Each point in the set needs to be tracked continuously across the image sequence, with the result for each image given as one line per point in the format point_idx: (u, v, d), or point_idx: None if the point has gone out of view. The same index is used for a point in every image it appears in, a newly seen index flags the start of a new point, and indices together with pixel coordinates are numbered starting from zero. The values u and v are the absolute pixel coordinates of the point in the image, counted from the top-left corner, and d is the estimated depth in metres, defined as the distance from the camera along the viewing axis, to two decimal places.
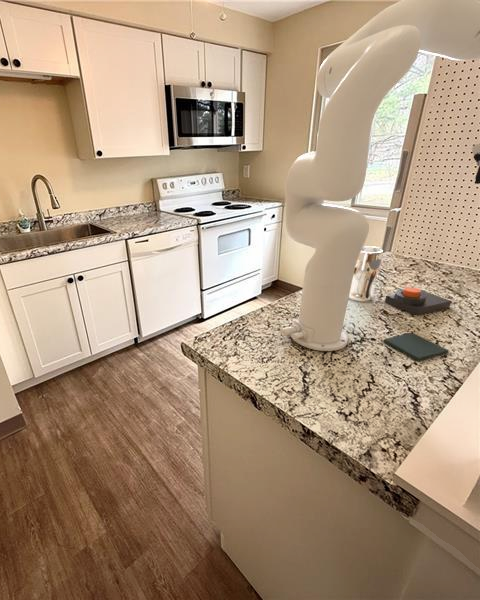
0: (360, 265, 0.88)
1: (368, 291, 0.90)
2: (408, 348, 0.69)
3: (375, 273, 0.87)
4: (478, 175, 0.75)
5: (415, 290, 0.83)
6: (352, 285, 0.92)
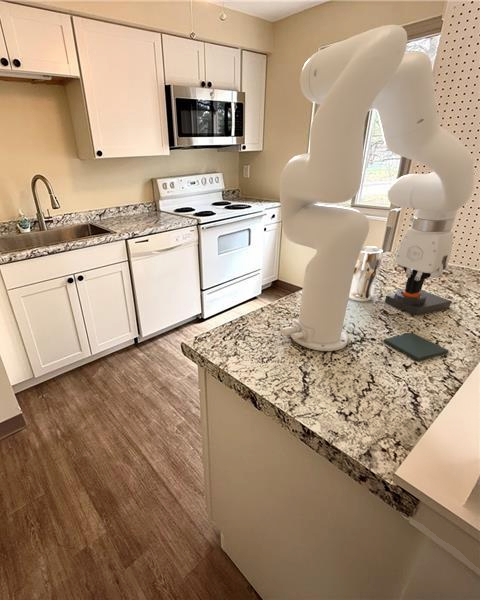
0: (360, 265, 0.88)
1: (368, 291, 0.90)
2: (408, 348, 0.69)
3: (375, 273, 0.87)
4: (407, 285, 0.84)
5: (415, 293, 0.83)
6: (352, 285, 0.92)
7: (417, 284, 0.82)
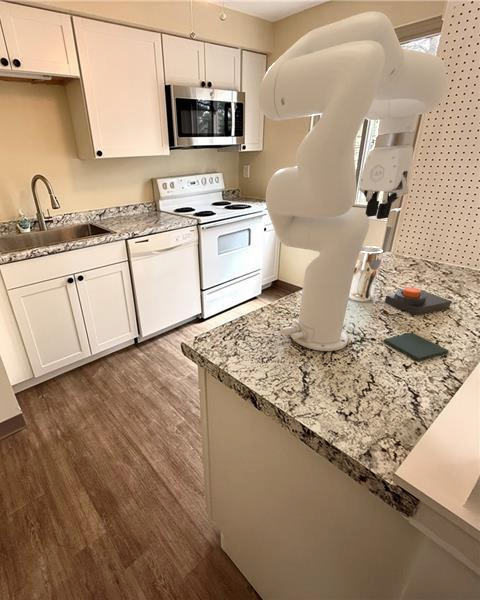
0: (360, 265, 0.88)
1: (368, 291, 0.90)
2: (408, 348, 0.69)
3: (375, 273, 0.87)
4: (367, 209, 0.84)
5: (415, 290, 0.83)
6: (352, 285, 0.92)
7: (385, 208, 0.80)
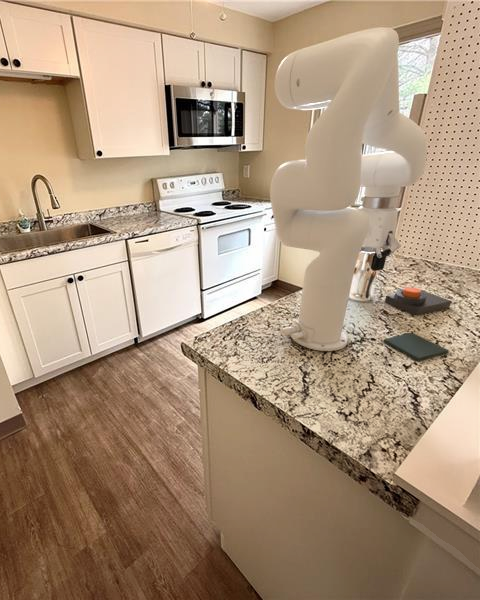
0: (360, 265, 0.88)
1: (368, 291, 0.90)
2: (408, 348, 0.69)
3: (375, 273, 0.87)
4: None
5: (415, 290, 0.83)
6: (352, 285, 0.92)
7: (379, 261, 0.84)
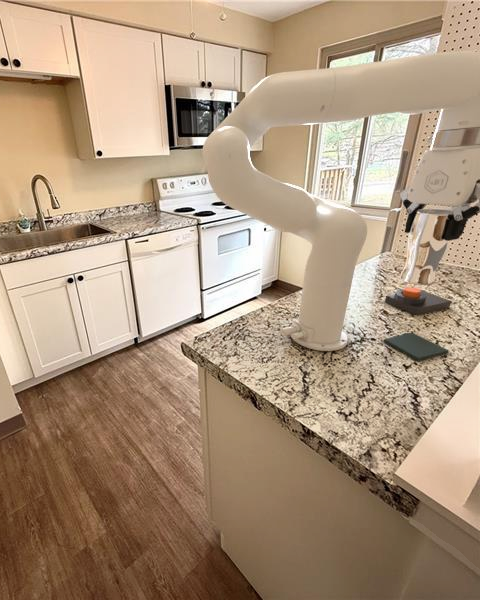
0: (426, 234, 0.62)
1: (434, 270, 0.65)
2: (408, 348, 0.69)
3: (447, 244, 0.62)
4: (407, 224, 0.67)
5: (415, 290, 0.83)
6: (410, 263, 0.67)
7: (458, 226, 0.59)
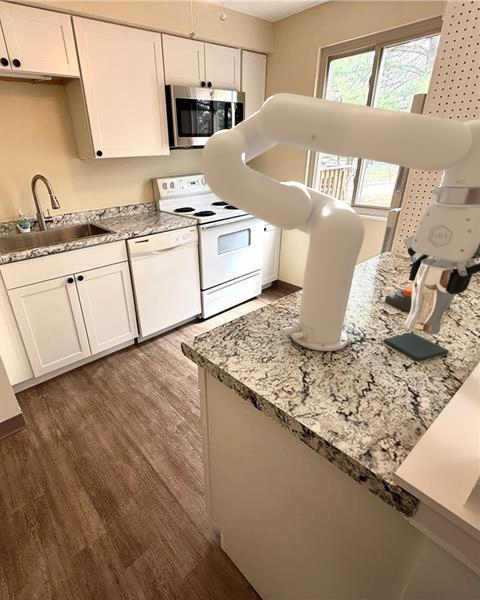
0: (430, 286, 0.61)
1: (439, 320, 0.64)
2: (408, 348, 0.69)
3: (452, 297, 0.61)
4: (412, 272, 0.66)
5: None
6: (414, 312, 0.66)
7: (462, 281, 0.58)
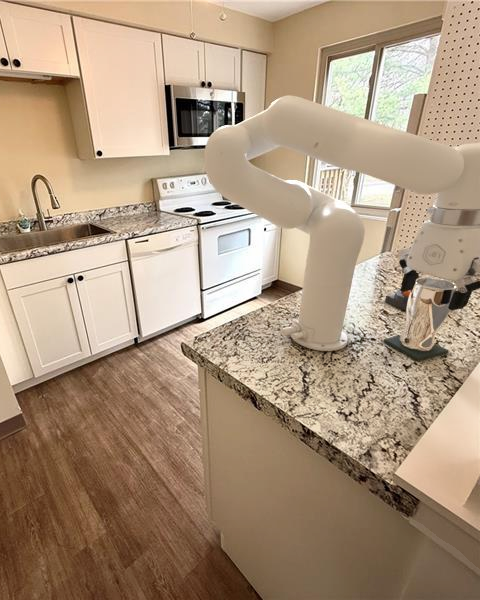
0: (423, 305, 0.63)
1: (432, 338, 0.66)
2: None
3: (444, 316, 0.63)
4: (403, 283, 0.68)
5: None
6: (408, 329, 0.68)
7: (462, 297, 0.58)
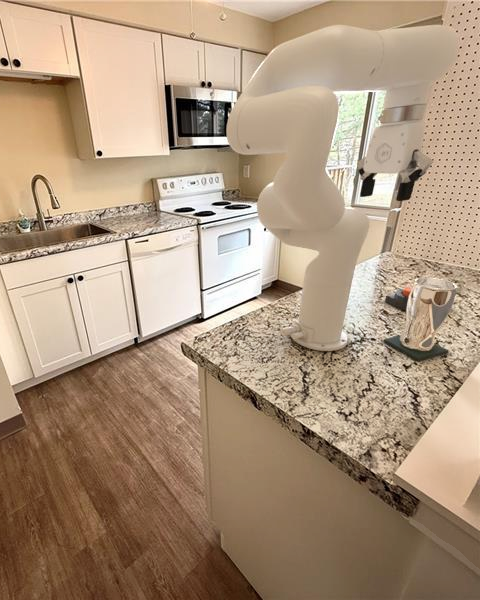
0: (423, 305, 0.63)
1: (432, 338, 0.66)
2: None
3: (445, 316, 0.63)
4: (362, 189, 0.78)
5: None
6: (408, 329, 0.68)
7: (406, 187, 0.68)
